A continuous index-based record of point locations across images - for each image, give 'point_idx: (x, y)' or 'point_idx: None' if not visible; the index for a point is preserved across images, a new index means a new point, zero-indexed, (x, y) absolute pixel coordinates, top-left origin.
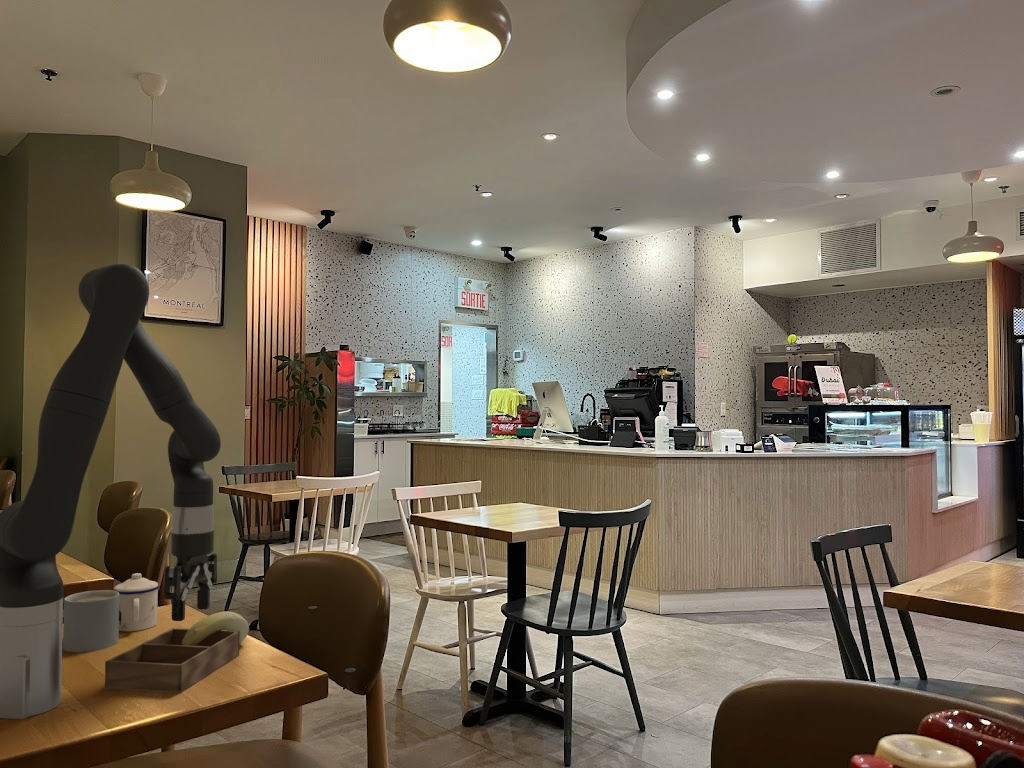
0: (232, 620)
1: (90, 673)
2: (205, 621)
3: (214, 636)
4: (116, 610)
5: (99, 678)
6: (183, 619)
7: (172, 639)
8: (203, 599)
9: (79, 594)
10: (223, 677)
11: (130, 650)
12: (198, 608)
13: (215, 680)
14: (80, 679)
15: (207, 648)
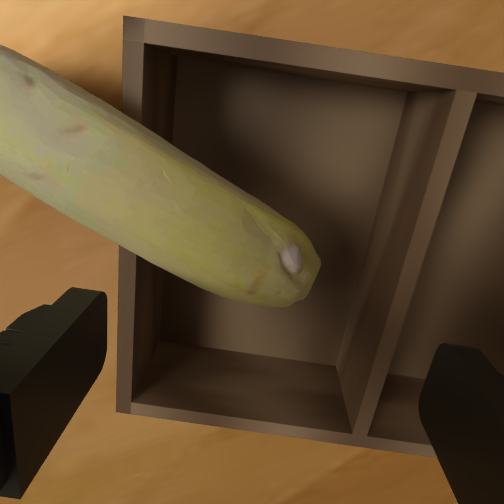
0: (67, 83)
1: (347, 487)
2: (233, 234)
3: None
4: None
5: None
6: (458, 345)
7: (151, 372)
8: (71, 367)
9: None
10: (456, 3)
11: None
12: (105, 355)
13: (492, 29)
14: (398, 490)
15: (495, 93)
